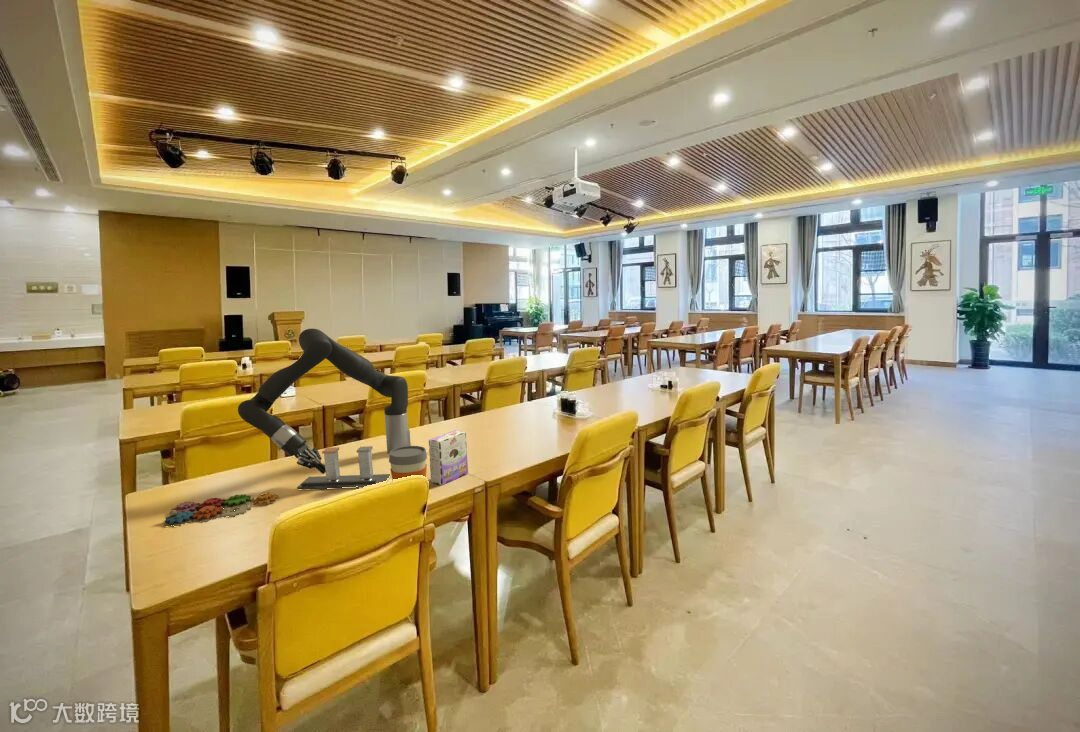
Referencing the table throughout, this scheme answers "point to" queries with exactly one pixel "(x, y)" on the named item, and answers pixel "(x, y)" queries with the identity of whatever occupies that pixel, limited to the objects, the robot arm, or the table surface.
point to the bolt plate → (349, 480)
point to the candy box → (448, 457)
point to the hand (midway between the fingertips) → (325, 471)
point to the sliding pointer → (331, 463)
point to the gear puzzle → (215, 508)
